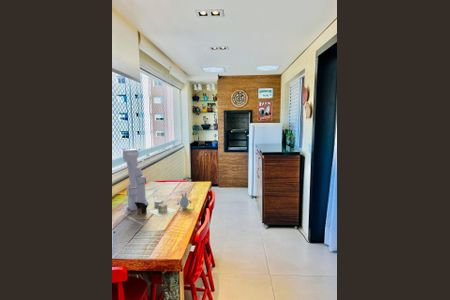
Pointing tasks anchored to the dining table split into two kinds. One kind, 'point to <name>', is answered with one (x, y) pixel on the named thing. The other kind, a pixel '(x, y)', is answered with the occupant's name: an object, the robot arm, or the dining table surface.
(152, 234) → the dining table surface
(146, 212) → the walnut block
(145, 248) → the dining table surface
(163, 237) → the dining table surface
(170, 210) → the station board
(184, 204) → the toy figure
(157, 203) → the grey block
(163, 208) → the maple block
